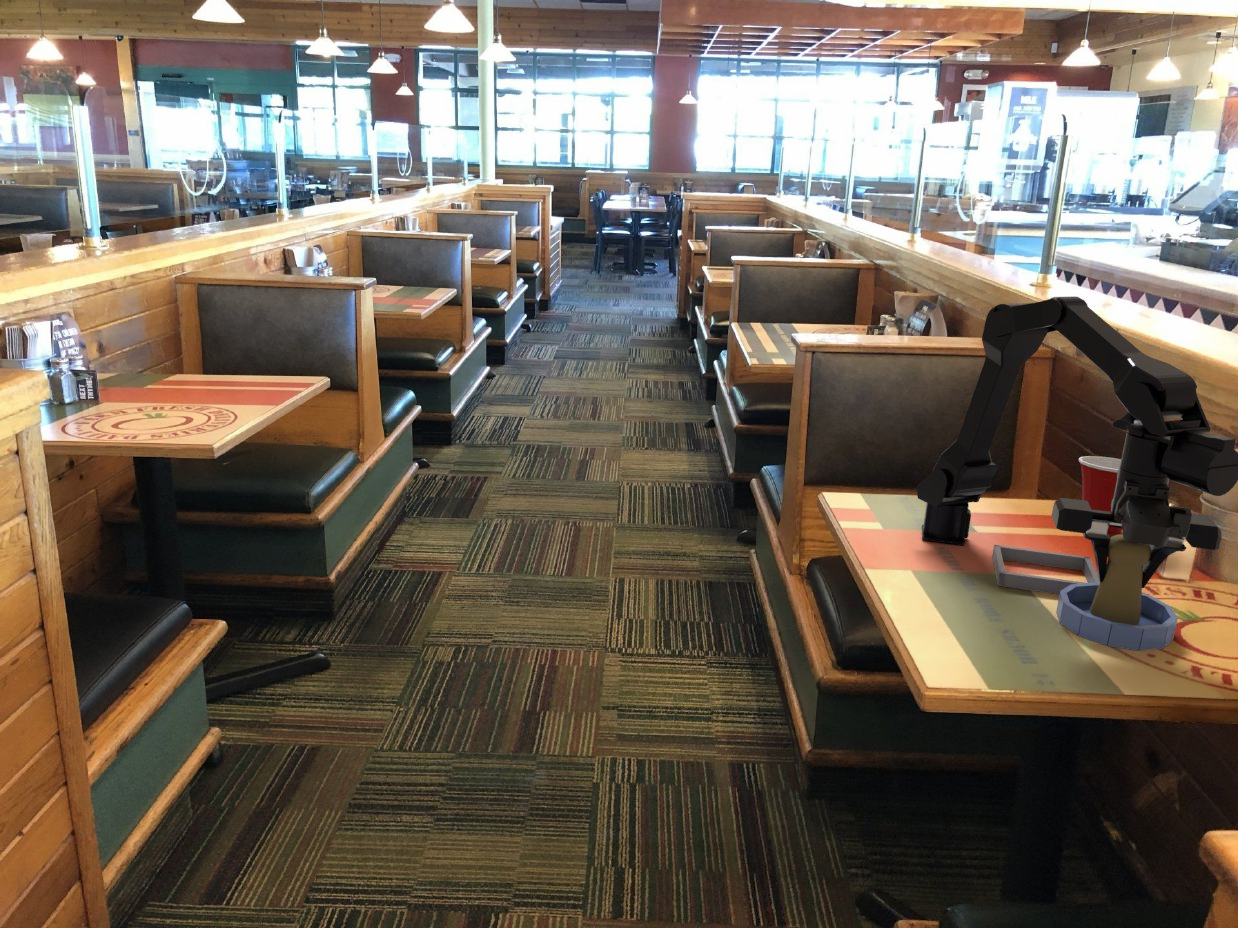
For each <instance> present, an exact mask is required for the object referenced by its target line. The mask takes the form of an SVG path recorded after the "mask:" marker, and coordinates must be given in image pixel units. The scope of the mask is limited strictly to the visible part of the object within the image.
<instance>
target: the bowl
mask: <svg viewBox="0 0 1238 928" xmlns="http://www.w3.org/2000/svg"><path fill="white" fill-rule="evenodd" d="M1098 586H1099V583H1088V582H1085V583H1082V584H1071V585H1069V586H1068V587H1066V588H1064V589H1063V590H1061V591H1060V594H1058V599H1057V605H1056V609H1055V610H1056V611H1055V613H1056V615H1057V618H1058V622H1059V624H1061V625H1062V626H1063V627H1065V628H1066V629H1068V630H1070V632H1072V633H1074V634H1075V635H1077V636H1078V637H1081V638H1084V639H1086V640H1089V641H1093V642H1095V643H1098V644H1101V645H1104V646H1106V647H1110V648H1111V647H1112V648H1113V647H1114V648H1119V649H1126V650H1133V651H1139V652H1140V651H1149V650H1160V649H1165V647H1167V646H1168V645H1169V644H1170V643H1171V642H1172V641H1174V637H1175V632H1176V628H1177V623H1178V620H1179V618H1178V616H1177V615H1176V612H1175V611H1174V610H1173V608H1172V606H1170V605H1169V604H1167V603H1165V602H1163V601H1162V600H1160V599H1158V598H1156V597H1154V596H1153V595H1151V594H1147V593H1144V592H1142V596H1141V613H1140V622H1139V623H1138V624H1137V625H1130V624H1123V623H1116V622H1111V621H1108V620H1105V619H1102V618H1099V617H1096V616H1093V615H1092V614H1091V613H1090V608H1091V605H1092V603H1093V600H1094V597H1095V594H1096V592H1097V589H1098Z"/></svg>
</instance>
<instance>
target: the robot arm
mask: <svg viewBox="0 0 1238 928" xmlns="http://www.w3.org/2000/svg"><path fill="white" fill-rule="evenodd" d="M983 326H984V327H983V333H982V337H981V342H982V346H983V350H984V354H985V359H984V362H983V365H982V368H981V371H980V373H979V376H978V378H977V382H976V384H975V387H974V390H973V393H972V395H971V399H970V401H969V404H968V407H967V409H966V413H965V415H964V418H963V421H962V424H961V427H960V430H959V432H958V435H957V438H956V439H955V441H954V442H953V443H952V444H951V445H950V446H949V447H948V448H946V449H945V450H944V451H943V452H942V453H941V454H940V456H939V458H938V459H937V461H936V463H935V466H934V467H933V469H932V471H931V473H930V474H929V475H928V476H926V477H925V478H924V479H923V480H922V481H920V482H918V484H917V485H916V493H917V499H918V500H921V502H922V501H923V502H924V503H925V510H924V518H923V523H922V525H921V540H924V541H930V542H939V543H947V544H953V545H962V546H965V543H966V540H965V539H968V537H969V531H970V524H971V520H972V519H971V518H972V513H971V510H970V509H969V503H978V502H979V501H980V498H981V497H982V495H983V494H984V493H985V492H986V491H987V489H988V488H991V487H993V479H994V476H995V474H996V473H997V471H998V467H999V466H998V465H997V464H996V463H994V462H993V461H992V458H991V457H992V456H991V453H990V448H991V445H992V442H993V440H994V437H995V435H996V432H997V429H998V426H999V424H1000V421H1001V418H1002V416H1003V414H1004V411H1005V409H1006V406H1007V403H1008V400H1009V399H1010V395H1011V393H1012V390H1013V387H1014V385H1015V382H1016V380H1017V376H1018V374H1019V371H1020V369H1021V367H1022V366H1023V364H1025V363H1026V362H1027V361H1028V360H1029V359H1030V358H1031V357H1032V356H1033V355H1035V353H1037V351H1038V350H1039V349H1040V347H1041V345H1042V343H1043V341H1044V340H1045V338H1046V336H1047V335H1048V334H1049V333H1053V332H1058V333H1059V334H1061V336H1063V337H1064V338H1065V339H1066V340H1067V341H1068V342H1069V343H1071V344H1072V345H1073V346H1074V347H1075V348H1076V349H1077V350H1078V351H1079V352H1081V354H1083V355H1084V357H1086V358H1088V360H1090V362H1092V364H1093V365H1095V366H1096V367H1097V368H1098V369H1099V370H1100V371H1101V372H1102V373H1104V374H1105V375H1106V376H1107V377H1108V378H1109V380H1110V381H1111V382H1112V384H1113V390H1114V394H1115V397H1116V398H1117V399H1118V401H1119V402H1120V403H1121V404H1122V405H1123V407H1124V408H1125V410H1126V411H1127V413H1126V414H1125V415H1124V416H1122V417H1120V418H1117V419H1116V420H1114V421H1112V423H1111V424H1112V427H1113V428H1115V429H1119V430H1122V431H1124V432H1126V434H1125V440H1124V445H1123V448H1122V449H1123V450H1122V454H1121V458H1120V459H1121V463H1120V468H1119V469H1118V473H1117V483H1116V488H1115V493H1114V498H1113V499H1112V503H1111V512H1108V511H1099V510H1092V509H1091V507H1090V505H1089V503H1088V501H1084V500H1082V499H1074V498H1065V497H1059V498H1058V499H1056V500H1055V501H1054V502H1053V506H1052V512H1051V519H1052V520H1053V523H1054V526H1055V528H1056V529H1057V530H1059V531H1063V532H1071V533H1078V534H1079V533H1080V534H1082V535H1083V538H1084V539H1086V540H1089V541H1091V545H1092V550H1093V553H1094V558H1095V565H1096V572H1097V574H1098V577H1099V581H1100V582H1103V580H1104V578H1105V575H1106V566H1107V562H1108V557H1107V554H1108V546H1109V543H1110V540H1111V539H1110V538H1111V537H1110V535H1108V533H1107V530H1108V527H1116V528H1122V534H1123V538H1124V540H1125V541H1127V542H1129V543H1131V544H1139V543H1140V544H1148V545H1150V548H1151V555H1150V558H1149V560H1148V562H1147V563H1146V564H1145V565H1144V566H1143V577H1142V589H1144V588H1146V586H1147V585H1148V582H1149V581H1150V580H1151V578H1152V577H1153V576H1154V574H1155V573H1156V571H1157V570H1158V569H1159V567H1160V566H1161V565H1162V563H1163V562H1164V561H1165V560H1166V559H1167V558H1168V557H1169V556H1171V555H1172V554H1174V553H1176V552H1185V551H1186V550H1187V546H1186V545H1185V544H1184V542H1185V541H1186V542H1187V543H1188V544H1189V546H1191V548H1194V549H1195V548H1197V549H1204V550H1211V551H1218V550H1219V549H1220V545H1221V541H1222V530H1221V528H1219V526H1218V525H1217V523H1215V522H1214V520H1213V519H1212V518H1211V516H1209V515H1208V514H1199V513H1192V511H1191V508H1187V507H1179V506H1172V505H1170V504H1169V503H1170V502H1169V496H1170V486H1169V482H1170V481H1171V482H1174V483H1177V484H1180V485H1182V486H1186V487H1188V488H1191V489H1194V490H1197V491H1199V492H1202V493H1206V494H1208V495H1212V496H1215V497H1221V496H1225V495H1226V494H1227V493H1229V492H1230V491H1231V490H1232V489H1233V488H1234V487H1235V485H1236V484H1237V482H1238V451H1236V450H1235V445H1236V442H1237V441H1236V439H1234V438H1232V437H1229V436H1221V435H1216V434H1215V435H1214V434H1211V433H1210V431H1211V427H1210V424H1209V421H1208V419H1207V417H1206V414H1205V412H1204V410H1203V407H1202V403H1201V402H1200V400H1199V396H1198V395H1197V394H1198V393H1197V388H1198V385H1197V383H1196V381H1195V380H1194V378H1193V377H1192V376H1191V375H1190V374H1188V373H1186V372H1184V371H1183V370H1181V369H1179V368H1177V367H1176V366H1174V365H1172V364H1170V363H1168V362H1165V361H1163V360H1159V359H1156V358H1154V357H1151V356H1149V355H1147V354H1145V353H1144V352H1142V351H1141V350H1140V349H1138V348H1137V347H1136V346H1134V344H1132V343H1131V342H1130V341H1129V340H1128V339H1127V338H1125V337H1124V336H1123V335H1122V334H1121V333H1120V332H1119V331H1117V330H1116V329H1114V328H1113V326H1111V325H1110V324H1109V323H1108V322H1107V321H1105V320H1104V319H1103V318H1102V317H1101V316H1099V315H1098V314H1097V313H1096V312H1095V311H1093V310H1092V309H1091V308H1090V307H1089V306H1088V303H1087V302H1086V300H1085V299H1083V298H1080V297H1079V296H1053V297H1050V298H1049V299H1045V300H1041V301H1036V302H1025V303H1023V302H1021V303H1020V302H1019V303H999V304H997V305H995V306H993V307H991V308H990V310H989V311H988V312H987V315H986V318H985V322H984V325H983ZM1171 418H1172V419H1173V418H1181V419H1176V420H1165V419H1171Z"/></svg>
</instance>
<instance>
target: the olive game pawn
mask: <svg viewBox="0 0 1238 928" xmlns="http://www.w3.org/2000/svg"><path fill="white" fill-rule="evenodd" d="M1110 539H1111V540H1110V543H1109V546H1108V554H1107V566H1106V575H1105V578H1104V580H1103V582H1100V583H1099V586H1098V589H1097V592H1096V594H1095V597H1094V600H1093V603H1092V605H1091V608H1090V613H1091V614H1092V615H1093V616H1096V617H1099V618H1102V619H1105V620H1108V621H1111V622H1116V623H1123V624H1130V625H1137V624H1138V623H1139V622H1140V613H1141V596H1142V593H1143V588H1142V577H1143V566H1144V565H1145V564H1146V563H1147V562H1148V560H1149V558H1150V555H1151V548H1150V545H1148V544H1140V543H1139V544H1131V543H1129V542H1127V541H1125V540H1124V538H1123V533H1122V534H1118V535H1111V537H1110Z"/></svg>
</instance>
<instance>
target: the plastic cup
mask: <svg viewBox="0 0 1238 928" xmlns="http://www.w3.org/2000/svg"><path fill="white" fill-rule="evenodd" d="M1078 462H1079V463H1080V470H1081V478H1082V479H1081V482H1082V483H1081V485H1082V486H1081V487H1082V488H1081V489H1082V491H1081V500H1084V501H1088V503H1089V505H1090V507H1091V509H1092V510H1099V511H1108V512H1111V503H1112V499H1113V498H1114V493H1115V488H1116V483H1117V473H1118V469H1119V468H1120V463H1121V458H1115V457H1107V456H1092V455H1088V456H1087V455H1085V456H1080V457H1079V458H1078ZM1122 531H1123V529H1122V528H1116V527H1108V530H1107V533H1108V535H1109V536H1115V535H1120V533H1121V532H1122Z"/></svg>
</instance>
